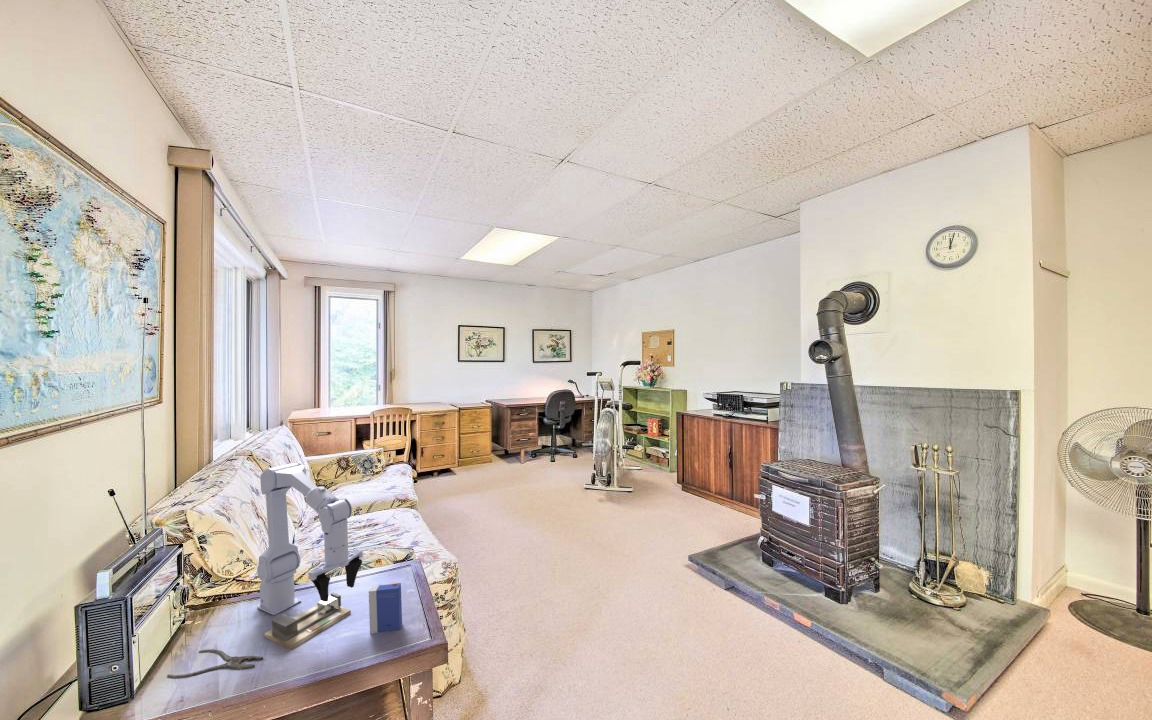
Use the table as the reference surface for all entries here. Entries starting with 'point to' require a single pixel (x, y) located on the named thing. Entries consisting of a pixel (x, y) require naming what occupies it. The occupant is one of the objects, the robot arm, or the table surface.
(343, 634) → the table surface
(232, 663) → the pliers
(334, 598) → the block with upright rod
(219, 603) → the table surface
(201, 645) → the table surface
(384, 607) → the walkman
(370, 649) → the table surface
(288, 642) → the bench
